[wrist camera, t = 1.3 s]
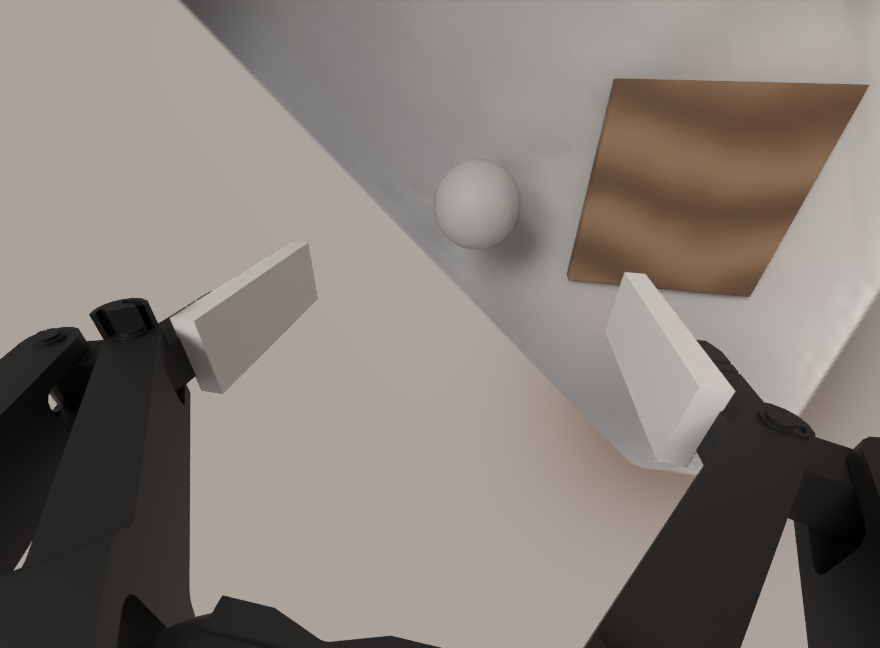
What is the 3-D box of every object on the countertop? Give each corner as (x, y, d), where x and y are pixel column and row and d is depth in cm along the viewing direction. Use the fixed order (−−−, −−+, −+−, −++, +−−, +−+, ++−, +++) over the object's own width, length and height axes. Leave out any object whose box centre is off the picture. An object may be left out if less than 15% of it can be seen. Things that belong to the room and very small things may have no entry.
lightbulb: (529, 158, 30) (537, 185, 21) (503, 226, 34) (500, 273, 25) (461, 136, 30) (440, 153, 21) (442, 206, 34) (417, 246, 25)
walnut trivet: (613, 79, 27) (617, 78, 26) (854, 85, 25) (869, 84, 24) (566, 274, 35) (568, 279, 34) (742, 290, 33) (749, 296, 32)
